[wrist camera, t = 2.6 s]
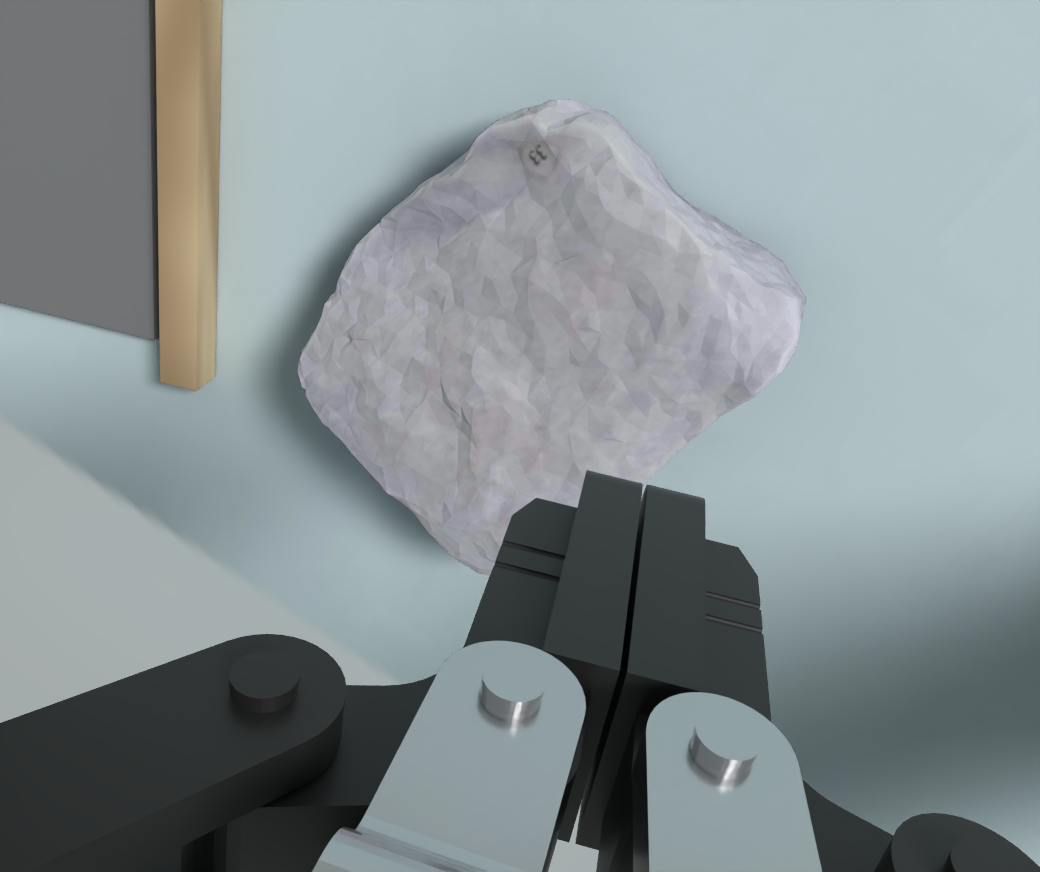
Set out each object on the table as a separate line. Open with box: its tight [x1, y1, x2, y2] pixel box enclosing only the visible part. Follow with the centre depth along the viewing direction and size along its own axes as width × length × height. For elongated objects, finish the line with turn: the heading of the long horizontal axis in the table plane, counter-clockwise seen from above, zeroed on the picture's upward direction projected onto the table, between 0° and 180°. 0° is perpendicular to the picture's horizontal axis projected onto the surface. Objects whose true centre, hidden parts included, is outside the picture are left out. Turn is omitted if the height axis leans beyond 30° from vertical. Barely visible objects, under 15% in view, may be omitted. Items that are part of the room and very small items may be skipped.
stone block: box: [298, 100, 806, 575], centre depth 25 cm, size 12×5×10 cm
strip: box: [155, 0, 222, 391], centre depth 25 cm, size 1×14×1 cm, turn 170°
